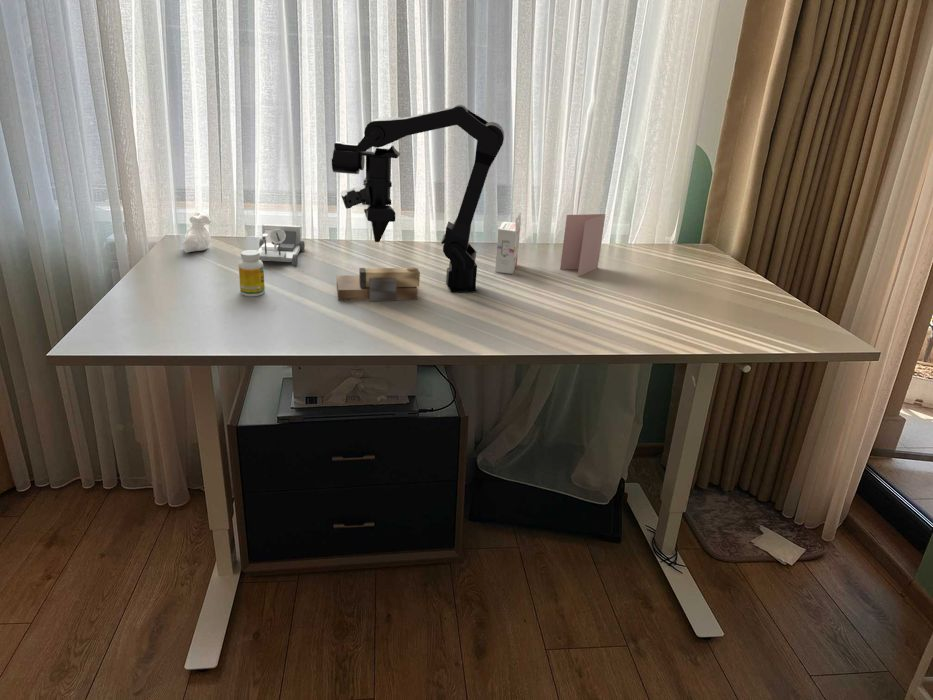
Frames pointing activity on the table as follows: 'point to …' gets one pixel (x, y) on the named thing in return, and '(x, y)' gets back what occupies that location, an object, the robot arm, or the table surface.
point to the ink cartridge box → (508, 246)
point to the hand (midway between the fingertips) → (377, 241)
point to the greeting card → (582, 242)
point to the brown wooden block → (373, 289)
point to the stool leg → (391, 276)
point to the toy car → (280, 243)
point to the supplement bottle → (251, 274)
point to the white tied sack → (197, 233)
